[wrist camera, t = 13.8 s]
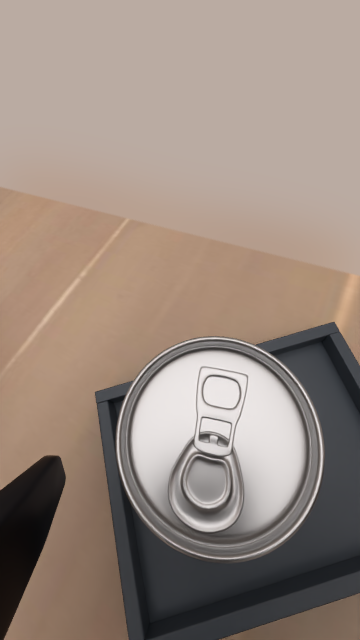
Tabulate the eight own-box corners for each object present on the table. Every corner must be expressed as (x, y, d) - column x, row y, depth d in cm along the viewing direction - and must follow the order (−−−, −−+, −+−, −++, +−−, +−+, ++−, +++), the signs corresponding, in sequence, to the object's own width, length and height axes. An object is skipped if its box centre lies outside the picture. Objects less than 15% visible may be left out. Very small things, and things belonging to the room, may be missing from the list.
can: (152, 480, 18) (63, 541, 7) (174, 381, 20) (135, 309, 9) (254, 507, 16) (347, 634, 6) (263, 399, 19) (341, 342, 8)
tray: (438, 543, 16) (470, 557, 14) (141, 640, 15) (131, 668, 13) (322, 332, 21) (334, 321, 19) (104, 396, 21) (94, 391, 19)
